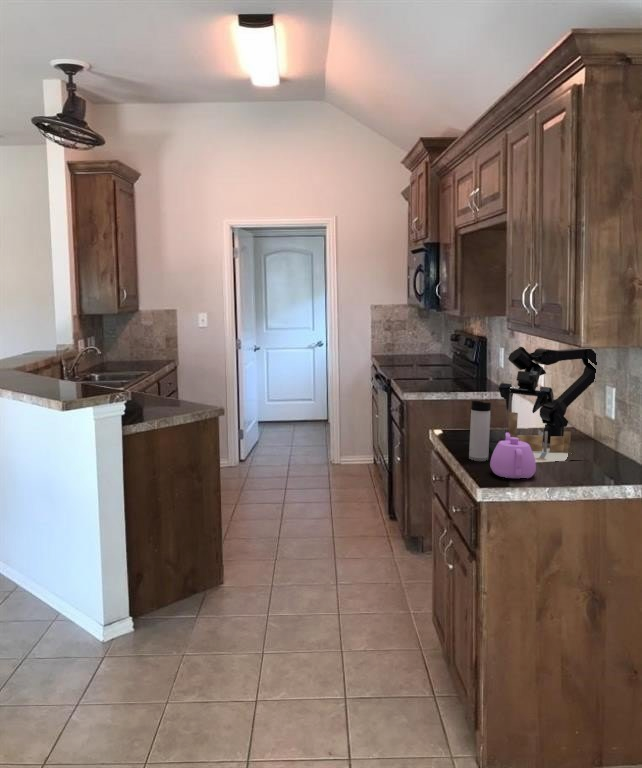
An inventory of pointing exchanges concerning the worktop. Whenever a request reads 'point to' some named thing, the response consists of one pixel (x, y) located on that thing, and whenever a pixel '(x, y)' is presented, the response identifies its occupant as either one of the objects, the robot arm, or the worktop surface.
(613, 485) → the worktop surface
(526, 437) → the gate
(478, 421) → the travel mug
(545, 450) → the base
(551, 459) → the card
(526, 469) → the teapot
